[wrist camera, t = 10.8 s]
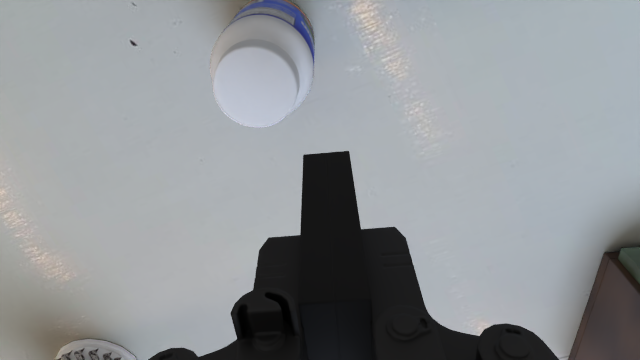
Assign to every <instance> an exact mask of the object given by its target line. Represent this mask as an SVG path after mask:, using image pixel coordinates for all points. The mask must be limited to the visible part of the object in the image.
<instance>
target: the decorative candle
mask: <svg viewBox="0 0 640 360" xmlns="http://www.w3.org/2000/svg"><path fill="white" fill-rule="evenodd" d="M55 360H137V359H136V357H135V356H134V355H133V354H131V353H130V352H128V351H127V350H126V349H124V348H123V347H121V346H118V345H116V344H113V343H110V342H108V341H103V340H94V339H84V340H77V341H72V342H70V343H69V344H67V345H65V346H63V347H62V348H61V349H60V351H59V353H58V354H57V356H56V358H55Z"/></svg>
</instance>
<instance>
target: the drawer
mask: <svg viewBox="0 0 640 360" xmlns="http://www.w3.org/2000/svg"><path fill="white" fill-rule="evenodd" d="M618 260H619V261H620V262H621V263H622V265H623V266H624V267H625V268H626V269H627V270H628V271H629V273H630V274H631V275H632V276H633V277H634V278H635V280H636V281H637V282H638V283H639V284H640V247H633V248H621V251H620V254H619V256H618Z"/></svg>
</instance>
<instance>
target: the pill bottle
mask: <svg viewBox="0 0 640 360" xmlns="http://www.w3.org/2000/svg"><path fill="white" fill-rule="evenodd" d="M314 44H315V42H314V33H313V30H312V27H311V24H310V22H309V20H308V18H307V17H306V15H305V14H304V13H303V11H302V10H301V9H300V8H298V7H297V6H296V5H295V4H293V3H291V2H289V1H288V0H252V1H251V2H249V3H248V4H246V5H245V6H244V7H243V8H242V9H241V10H240V11H239V12H238V14H237V15H236V16H235V18H234V19H233V20H232V21H231V22H230V24H229V25H228V26H227V27H226V28H225V30H224V31H223V32H222V34H221V35H220V36H219V38H218V39H217V41H216V43H215V45H214V47H213V49H212V53H211V58H210V74H211V79H212V84H213V93H214V96H215V99H216V102H217V104H218V105H219V107H220V108H221V110H222V111H223V112H224V113H225V114H226V115H227V116H228V117H229V118H230V119H232V120H233V121H235V122H237V123H239V124H241V125H244V126H248V127H254V128H261V127H268V126H271V125H274V124H276V123H278V122H280V121H281V120H283V119H284V118H285V117H286V116H287V115H288V114H289V113H291V112H292V111H294V110H295V109H296V108H297V107H298V106H300V104H301V103H302V102H303V101H304V100H305V98H306V96H307V95H308V93H309V91H310V88H311V85H312V81H313V76H314Z"/></svg>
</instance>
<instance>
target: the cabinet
mask: <svg viewBox="0 0 640 360" xmlns="http://www.w3.org/2000/svg"><path fill="white" fill-rule="evenodd" d="M619 254H620V252H609V253H604V256H603V259H602V262H601V265H600V268H599V271H598V274H597V277H596V280H595V283H594V286H593V289H592V292H591V295H590V298H589V300H588V303H587V306H586V309H585V312H584V315H583V318H582V321H581V324H580V327H579V330H578V333H577V336H576V339H575V342H574V345H573V348H572V351H571V354H570V357H569V360H640V284H639V283H638V282H637V281H636V280H635V278H634V277H633V276H632V275H631V274H630V273H629V271H628V270H627V269H626V268H625V267H624V266H623V265H622V263H621V262H620V261H619V260H618V256H619Z"/></svg>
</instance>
